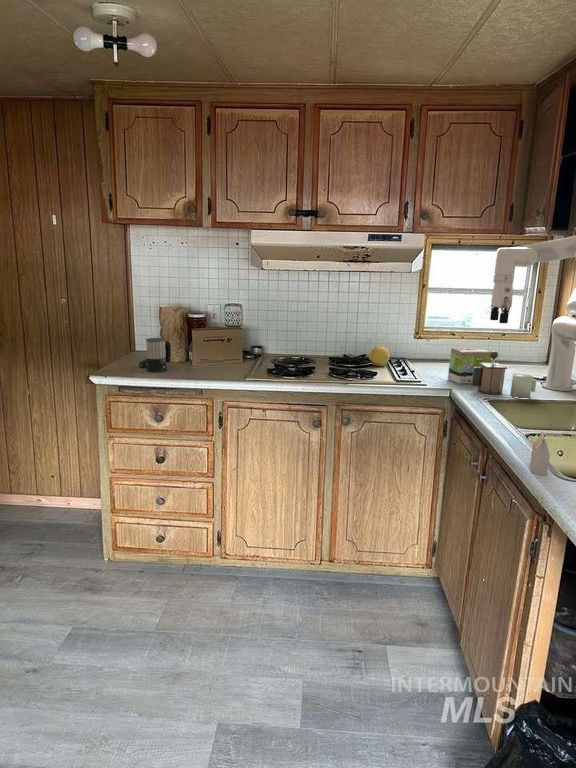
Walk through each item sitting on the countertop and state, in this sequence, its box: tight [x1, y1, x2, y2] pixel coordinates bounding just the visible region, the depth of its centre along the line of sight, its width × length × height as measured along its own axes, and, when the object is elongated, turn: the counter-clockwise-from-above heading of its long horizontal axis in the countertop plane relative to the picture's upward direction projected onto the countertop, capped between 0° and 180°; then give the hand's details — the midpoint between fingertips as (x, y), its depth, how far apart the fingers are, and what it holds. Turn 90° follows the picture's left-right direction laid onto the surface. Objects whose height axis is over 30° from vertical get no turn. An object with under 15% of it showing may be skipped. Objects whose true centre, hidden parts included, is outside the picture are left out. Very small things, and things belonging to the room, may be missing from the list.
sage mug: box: [509, 373, 538, 399], centre depth 216 cm, size 9×8×9 cm
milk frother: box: [138, 337, 172, 373], centre depth 248 cm, size 14×16×15 cm
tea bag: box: [529, 431, 551, 477], centre depth 141 cm, size 4×7×10 cm, turn 158°
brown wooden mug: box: [471, 362, 508, 396], centre depth 223 cm, size 13×10×12 cm
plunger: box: [490, 350, 499, 366], centre depth 222 cm, size 6×6×16 cm
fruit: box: [368, 346, 390, 367], centre depth 270 cm, size 10×11×10 cm
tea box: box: [447, 347, 492, 384], centre depth 241 cm, size 15×10×15 cm, turn 106°
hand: (498, 321), depth 217 cm, fingers open, 9 cm apart
